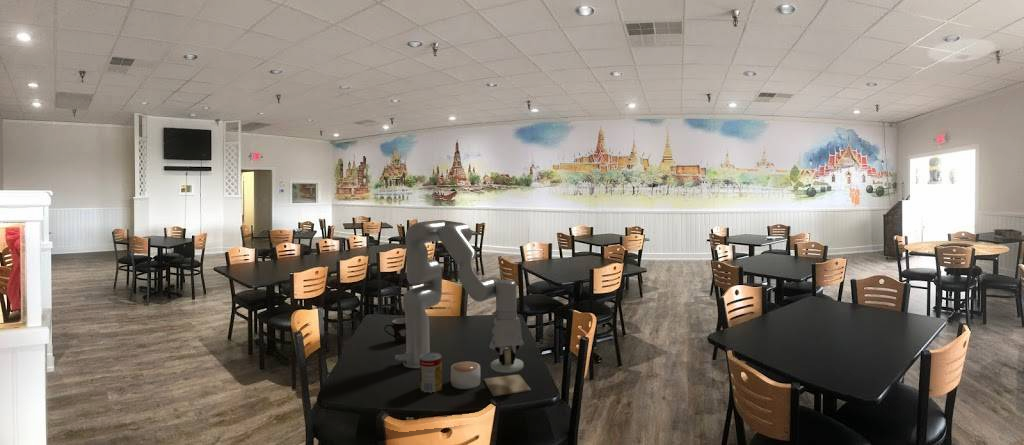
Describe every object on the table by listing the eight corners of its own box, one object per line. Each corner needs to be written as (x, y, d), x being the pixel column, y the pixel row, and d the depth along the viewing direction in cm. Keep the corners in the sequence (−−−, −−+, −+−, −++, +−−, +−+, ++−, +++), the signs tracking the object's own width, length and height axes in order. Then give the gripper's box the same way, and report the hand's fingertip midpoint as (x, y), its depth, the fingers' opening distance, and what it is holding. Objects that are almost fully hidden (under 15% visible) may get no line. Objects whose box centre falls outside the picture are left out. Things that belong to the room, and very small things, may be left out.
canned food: (443, 383, 178) (442, 352, 177) (440, 392, 170) (440, 360, 169) (422, 383, 177) (421, 352, 176) (418, 393, 170) (417, 360, 169)
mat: (493, 396, 167) (493, 394, 167) (483, 380, 180) (483, 378, 180) (530, 390, 171) (530, 389, 171) (519, 375, 184) (519, 374, 184)
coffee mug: (413, 338, 228) (413, 318, 228) (408, 344, 220) (407, 323, 219) (390, 338, 230) (389, 317, 229) (383, 344, 221) (383, 323, 220)
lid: (495, 374, 167) (495, 356, 167) (487, 362, 179) (487, 345, 178) (527, 370, 171) (527, 352, 170) (517, 358, 182) (517, 342, 182)
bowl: (453, 390, 172) (453, 373, 171) (448, 378, 182) (448, 362, 181) (483, 386, 175) (483, 370, 174) (476, 375, 185) (476, 359, 185)
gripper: (487, 319, 167) (487, 369, 169) (531, 314, 172) (531, 364, 174) (482, 313, 175) (483, 362, 176) (524, 309, 179) (525, 357, 181)
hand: (507, 362), depth 175 cm, fingers closed on lid, 3 cm apart
